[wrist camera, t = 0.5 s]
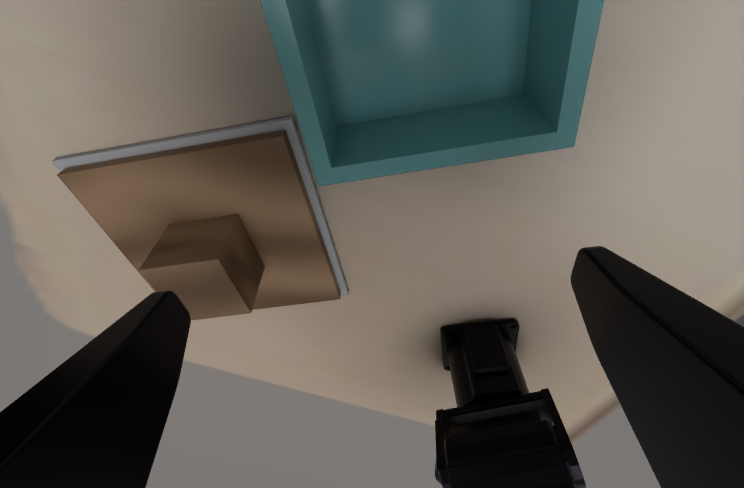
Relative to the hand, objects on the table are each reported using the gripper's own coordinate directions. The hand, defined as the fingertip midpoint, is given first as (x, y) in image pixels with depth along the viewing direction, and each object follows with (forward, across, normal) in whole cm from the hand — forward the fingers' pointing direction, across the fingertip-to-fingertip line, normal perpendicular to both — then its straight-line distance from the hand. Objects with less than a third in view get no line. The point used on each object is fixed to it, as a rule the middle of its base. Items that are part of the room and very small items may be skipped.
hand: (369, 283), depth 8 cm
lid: (+13, +11, +8) cm, 19 cm away
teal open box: (+14, -3, -3) cm, 14 cm away
